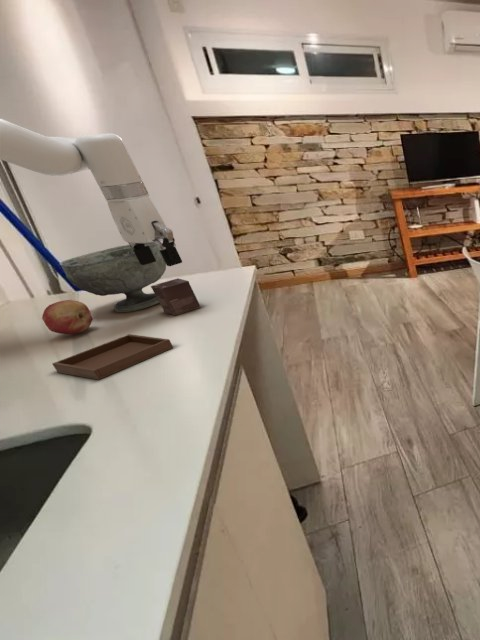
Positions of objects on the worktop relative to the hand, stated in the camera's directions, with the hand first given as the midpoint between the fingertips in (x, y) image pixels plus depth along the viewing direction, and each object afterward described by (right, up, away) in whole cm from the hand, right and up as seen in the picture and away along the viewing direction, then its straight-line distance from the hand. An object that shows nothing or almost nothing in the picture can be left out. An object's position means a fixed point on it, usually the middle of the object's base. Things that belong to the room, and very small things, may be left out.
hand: (161, 263), depth 116 cm
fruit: (-16, -17, -4) cm, 24 cm away
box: (+1, -11, +5) cm, 13 cm away
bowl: (-16, -10, +11) cm, 22 cm away
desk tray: (+8, -22, -19) cm, 31 cm away
